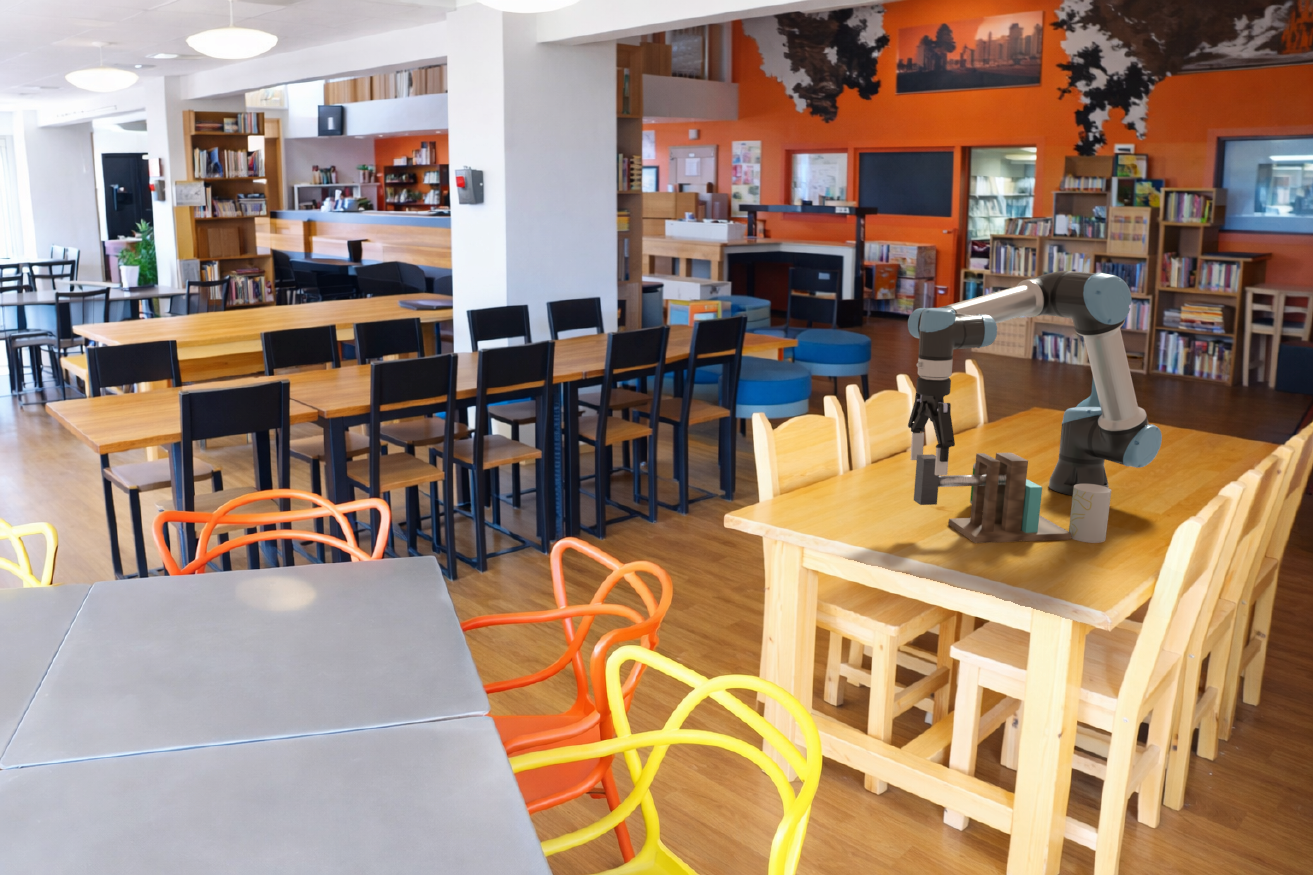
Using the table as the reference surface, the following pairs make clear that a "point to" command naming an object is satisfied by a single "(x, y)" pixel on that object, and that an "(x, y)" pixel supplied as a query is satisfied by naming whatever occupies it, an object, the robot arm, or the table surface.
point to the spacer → (1031, 507)
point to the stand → (1002, 504)
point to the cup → (1089, 513)
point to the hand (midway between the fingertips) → (928, 467)
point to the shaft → (941, 480)
